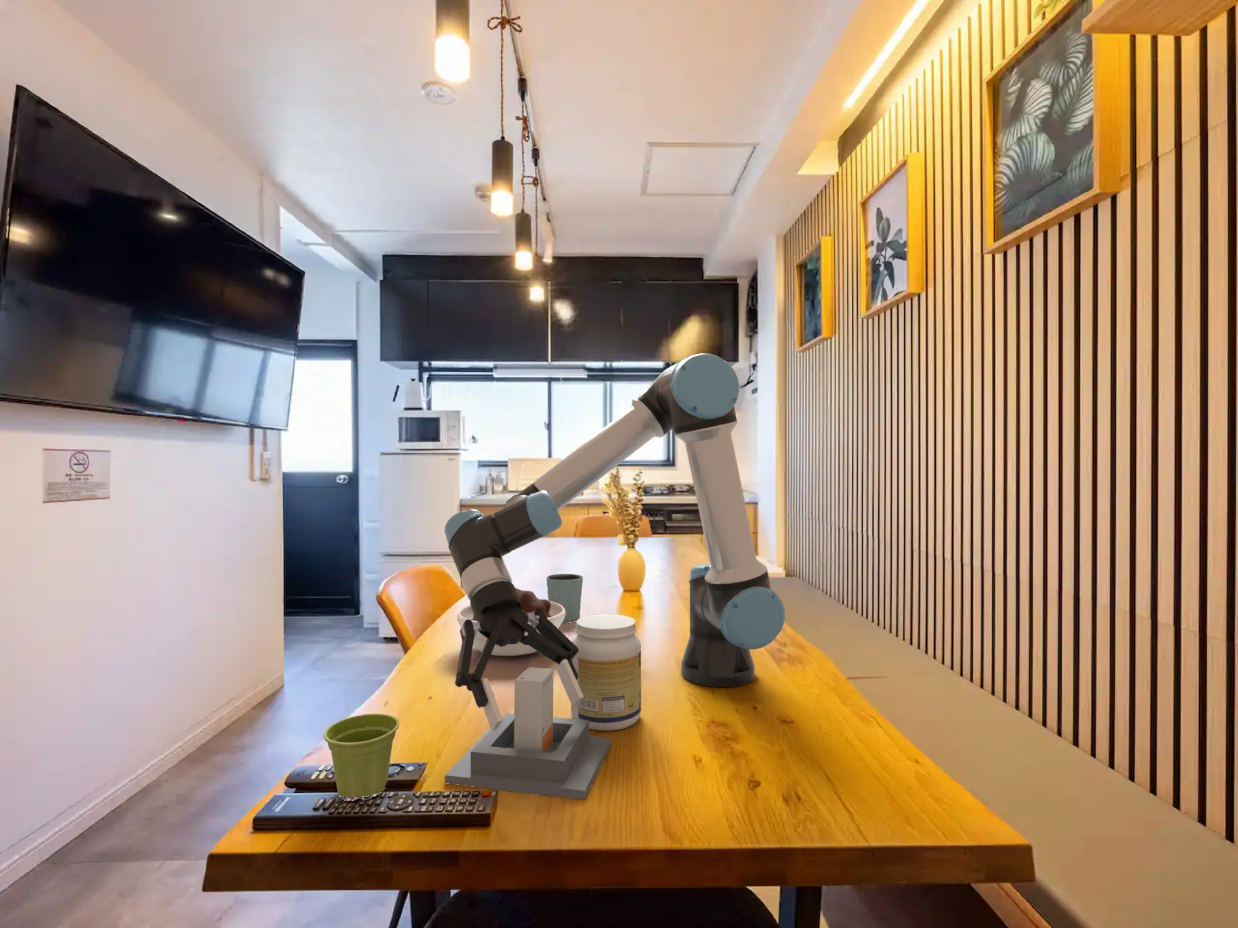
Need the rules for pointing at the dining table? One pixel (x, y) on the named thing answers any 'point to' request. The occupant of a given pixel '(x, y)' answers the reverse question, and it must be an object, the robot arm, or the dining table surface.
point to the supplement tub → (608, 671)
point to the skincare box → (534, 710)
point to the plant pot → (361, 752)
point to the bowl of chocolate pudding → (528, 604)
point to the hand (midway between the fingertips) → (539, 713)
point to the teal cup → (566, 594)
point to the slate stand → (534, 761)
